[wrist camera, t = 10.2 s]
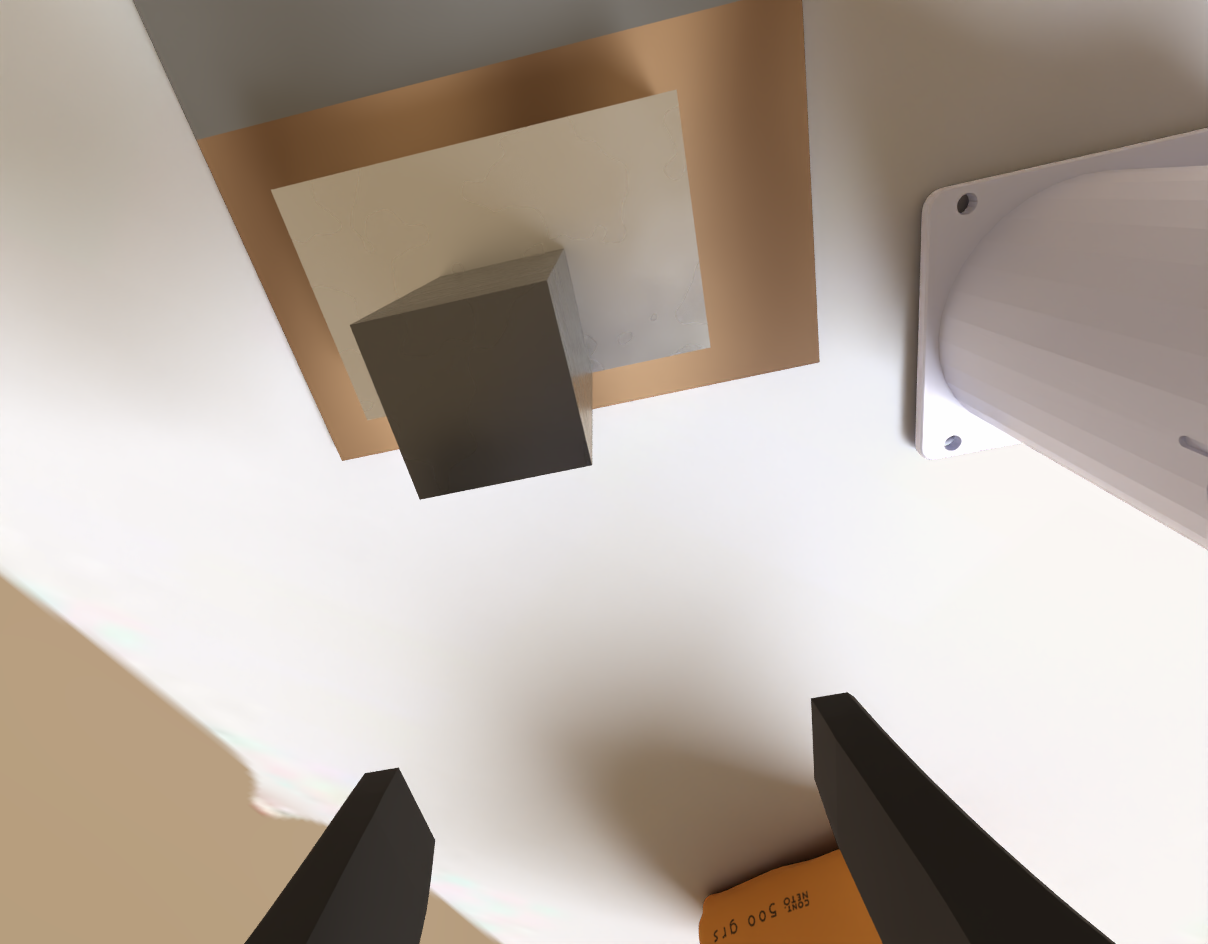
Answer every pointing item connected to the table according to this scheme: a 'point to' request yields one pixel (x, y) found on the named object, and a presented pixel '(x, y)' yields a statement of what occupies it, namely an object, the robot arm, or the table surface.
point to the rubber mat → (357, 46)
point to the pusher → (505, 284)
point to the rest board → (555, 90)
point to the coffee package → (791, 908)
